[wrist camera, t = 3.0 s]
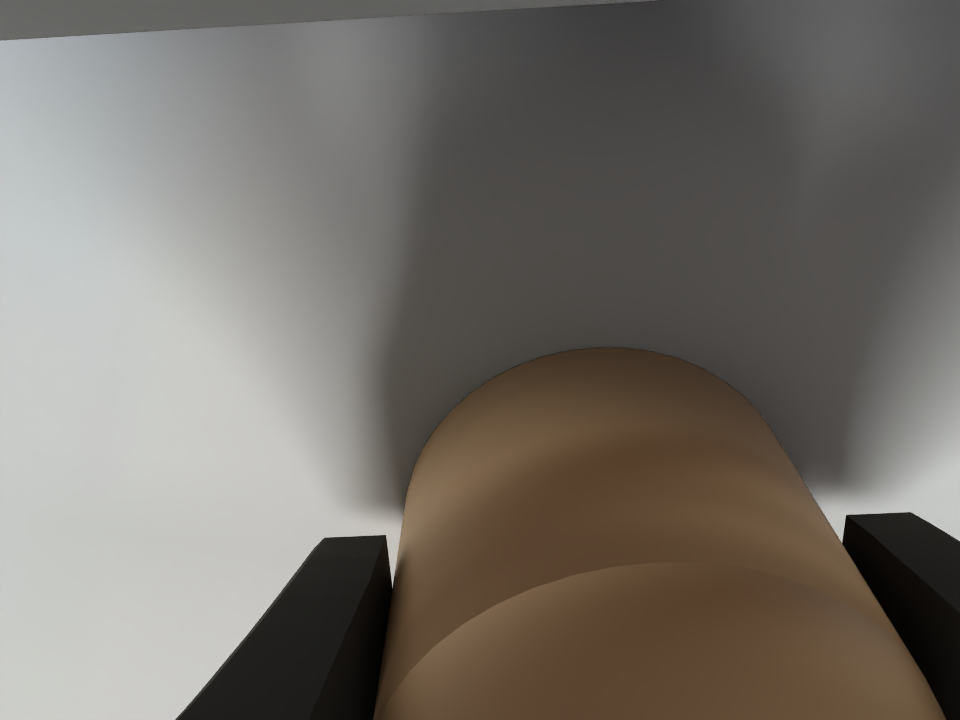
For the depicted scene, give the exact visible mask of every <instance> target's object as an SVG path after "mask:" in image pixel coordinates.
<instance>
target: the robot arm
mask: <svg viewBox="0 0 960 720" xmlns="http://www.w3.org/2000/svg"><path fill="white" fill-rule="evenodd" d="M842 544H843V546H844V548H845V549H846V551H847V552H848V554H849V556H850V557H851V559H852V560H853V562H854V564H855V565H856V567H857V569H858V570H859V572H860V573H861V575H862V577H863V578H864V580H865V581H866V583H867V585H868V586H869V588H870V590H871V591H872V593H873V594H874V596H875V598H876V599H877V601H878V602H879V604H880V606H881V607H882V609H883V610H884V612H885V614H886V615H887V617H888V619H889V620H890V622H891V623H892V625H893V627H894V628H895V630H896V631H897V633H898V635H899V636H900V638H901V640H902V641H903V643H904V644H905V646H906V648H907V649H908V651H909V652H910V654H911V656H912V657H913V659H914V661H915V662H916V664H917V665H918V667H919V669H920V670H921V672H922V673H923V675H924V677H925V678H926V680H927V682H928V684H929V686H930V688H931V690H932V692H933V694H934V696H935V698H936V700H937V702H938V704H939V706H940V708H941V709H942V712H943V714H944V716H945V718H946V720H960V541H958V540H957V539H955V538H953V537H952V536H950V535H949V534H947V533H945V532H944V531H942V530H940V529H939V528H937V527H935V526H934V525H932V524H930V523H929V522H927V521H925V520H923V519H922V518H920V517H918V516H916V515H914V514H913V513H911V512H907V513H884V514H861V515H846V520H845V528H844V535H843V542H842ZM391 596H392V581H391V573H390V565H389V557H388V548H387V540H386V535H379V536H356V537H333V538H324V539H323V540H322V541H321V542H320V543H319V544H318V545H317V546H316V547H315V548H314V549H313V551H312V552H311V553H310V555H309V556H308V557H307V558H306V560H305V561H304V562H303V564H302V565H301V566H300V568H299V569H298V570H297V572H296V573H295V574H294V576H293V577H292V578H291V580H290V581H289V582H288V583H287V585H286V586H285V587H284V589H283V590H282V591H281V593H280V594H279V595H278V597H277V598H276V599H275V600H274V602H273V603H272V604H271V606H270V607H269V608H268V609H267V611H266V612H265V613H264V614H263V616H262V617H261V618H260V620H259V621H258V622H257V623H256V625H255V626H254V627H253V628H252V630H251V631H250V632H249V633H248V635H247V636H246V637H245V638H244V640H243V641H242V642H241V643H240V644H239V646H238V647H237V648H236V649H235V650H234V652H233V653H232V654H231V655H230V656H229V658H228V659H227V660H226V661H225V662H224V664H223V665H222V666H221V667H220V668H219V670H218V671H217V672H216V673H215V674H214V676H213V677H212V678H211V679H210V680H209V682H208V683H207V684H206V685H205V686H204V688H203V689H202V690H201V691H200V692H199V694H198V695H197V696H196V697H195V698H194V699H193V701H192V702H191V703H190V704H189V705H188V706H187V707H186V709H185V710H184V711H183V712H182V713H181V714H180V715H179V716H178V717H177V718H176V720H373V716H374V709H375V703H376V696H377V689H378V683H379V676H380V669H381V663H382V656H383V649H384V643H385V636H386V629H387V623H388V616H389V609H390V603H391Z"/></svg>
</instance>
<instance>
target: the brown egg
mask: <svg viewBox="0 0 960 720" xmlns="http://www.w3.org/2000/svg"><path fill="white" fill-rule="evenodd" d="M373 720H946V718H945V716H944V714H943V712H942V709H941V708H940V706H939V704H938V702H937V700H936V698H935V696H934V694H933V692H932V690H931V688H930V686H929V684H928V682H927V680H926V678H925V677H924V675H923V673H922V672H921V670H920V669H919V667H918V665H917V664H916V662H915V661H914V659H913V657H912V656H911V654H910V652H909V651H908V649H907V648H906V646H905V644H904V643H903V641H902V640H901V638H900V636H899V635H898V633H897V631H896V630H895V628H894V627H893V625H892V623H891V622H890V620H889V619H888V617H887V615H886V614H885V612H884V610H883V609H882V607H881V606H880V604H879V602H878V601H877V599H876V598H875V596H874V594H873V593H872V591H871V590H870V588H869V586H868V585H867V583H866V581H865V580H864V578H863V577H862V575H861V573H860V572H859V570H858V569H857V567H856V565H855V564H854V562H853V560H852V559H851V557H850V556H849V554H848V552H847V551H846V549H845V548H844V546H843V544H842V543H841V541H840V539H839V538H838V536H837V535H836V533H835V531H834V530H833V528H832V527H831V525H830V523H829V522H828V520H827V518H826V517H825V515H824V514H823V512H822V510H821V509H820V507H819V506H818V504H817V502H816V501H815V499H814V497H813V496H812V494H811V493H810V491H809V489H808V488H807V486H806V485H805V483H804V481H803V480H802V478H801V476H800V475H799V473H798V472H797V470H796V468H795V467H794V465H793V464H792V462H791V460H790V459H789V457H788V455H787V454H786V452H785V451H784V449H783V447H782V446H781V444H780V443H779V441H778V439H777V438H776V436H775V434H774V433H773V431H772V430H771V428H770V427H769V426H768V424H767V423H766V421H765V420H764V418H763V417H762V416H761V414H760V413H759V412H758V411H757V410H756V409H755V408H754V407H753V405H752V404H751V403H750V402H749V401H748V400H747V399H746V398H745V397H744V396H743V395H742V394H740V393H739V392H738V391H736V390H735V389H734V388H733V387H731V386H730V385H729V384H727V383H726V382H725V381H723V380H722V379H720V378H718V377H716V376H715V375H713V374H711V373H709V372H708V371H706V370H704V369H703V368H700V367H698V366H695V365H693V364H691V363H688V362H686V361H683V360H681V359H678V358H675V357H671V356H667V355H663V354H660V353H656V352H652V351H645V350H637V349H630V348H587V349H578V350H569V351H565V352H561V353H556V354H552V355H548V356H543V357H540V358H537V359H535V360H532V361H529V362H526V363H524V364H521V365H518V366H516V367H514V368H512V369H510V370H508V371H506V372H504V373H502V374H500V375H498V376H496V377H494V378H492V379H491V380H489V381H488V382H486V383H485V384H483V385H482V386H480V387H479V388H477V389H476V390H474V391H473V392H471V393H470V394H469V395H468V396H467V397H466V398H464V399H463V400H462V401H461V402H460V403H459V404H458V405H456V406H455V407H454V408H453V409H452V410H451V411H450V412H449V413H448V415H447V416H446V417H445V418H444V419H443V420H442V422H441V423H440V424H439V425H438V426H437V427H436V429H435V430H434V432H433V433H432V435H431V436H430V438H429V439H428V441H427V443H426V444H425V446H424V447H423V449H422V451H421V453H420V456H419V458H418V460H417V462H416V464H415V467H414V469H413V472H412V476H411V479H410V483H409V486H408V490H407V496H406V503H405V509H404V516H403V523H402V529H401V536H400V543H399V549H398V556H397V563H396V569H395V576H394V583H393V589H392V596H391V603H390V609H389V616H388V623H387V629H386V636H385V643H384V649H383V656H382V663H381V669H380V676H379V683H378V689H377V696H376V703H375V709H374V716H373Z"/></svg>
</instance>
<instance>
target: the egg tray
mask: <svg viewBox="0 0 960 720" xmlns="http://www.w3.org/2000/svg"><path fill="white" fill-rule="evenodd" d="M642 1H658V0H0V40H15V39H32V38H48V37H65V36H81V35H98V34H114V33H130V32H147V31H163V30H180V29H196V28H213V27H229V26H246V25H262V24H279V23H295V22H312V21H328V20H345V19H361V18H378V17H394V16H411V15H427V14H444V13H460V12H477V11H493V10H510V9H526V8H543V7H559V6H576V5H592V4H609V3H625V2H642Z"/></svg>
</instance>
